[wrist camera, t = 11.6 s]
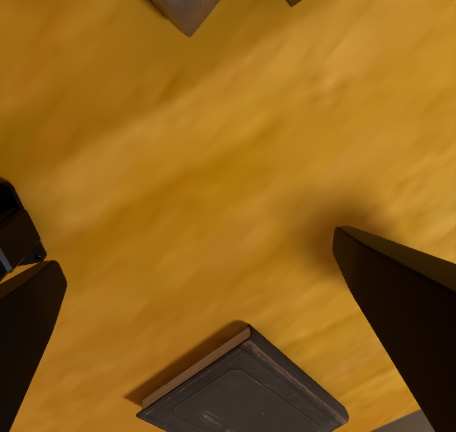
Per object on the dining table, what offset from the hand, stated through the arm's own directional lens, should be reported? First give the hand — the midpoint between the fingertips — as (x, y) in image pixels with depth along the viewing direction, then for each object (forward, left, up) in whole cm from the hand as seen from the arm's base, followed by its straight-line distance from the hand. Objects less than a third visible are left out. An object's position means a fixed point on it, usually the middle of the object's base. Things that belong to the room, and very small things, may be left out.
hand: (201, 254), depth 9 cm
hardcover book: (+2, -32, -14) cm, 35 cm away
